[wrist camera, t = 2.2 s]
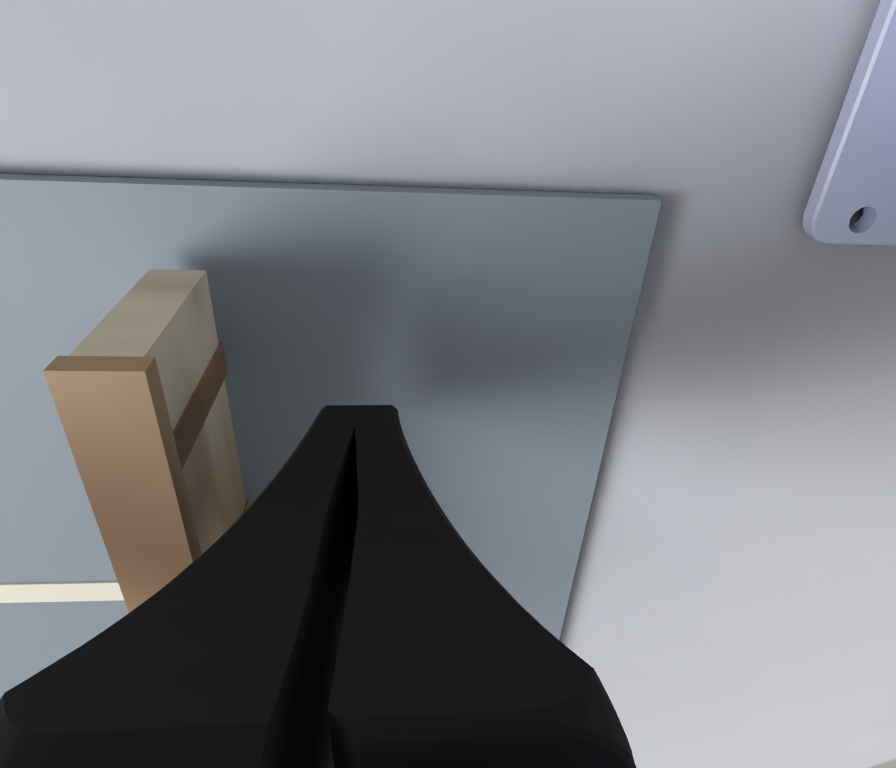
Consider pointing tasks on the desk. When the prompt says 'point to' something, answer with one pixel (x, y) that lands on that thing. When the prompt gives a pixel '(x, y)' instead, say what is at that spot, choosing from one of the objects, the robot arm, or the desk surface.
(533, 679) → the robot arm
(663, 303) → the desk surface
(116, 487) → the fence panel
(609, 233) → the board
